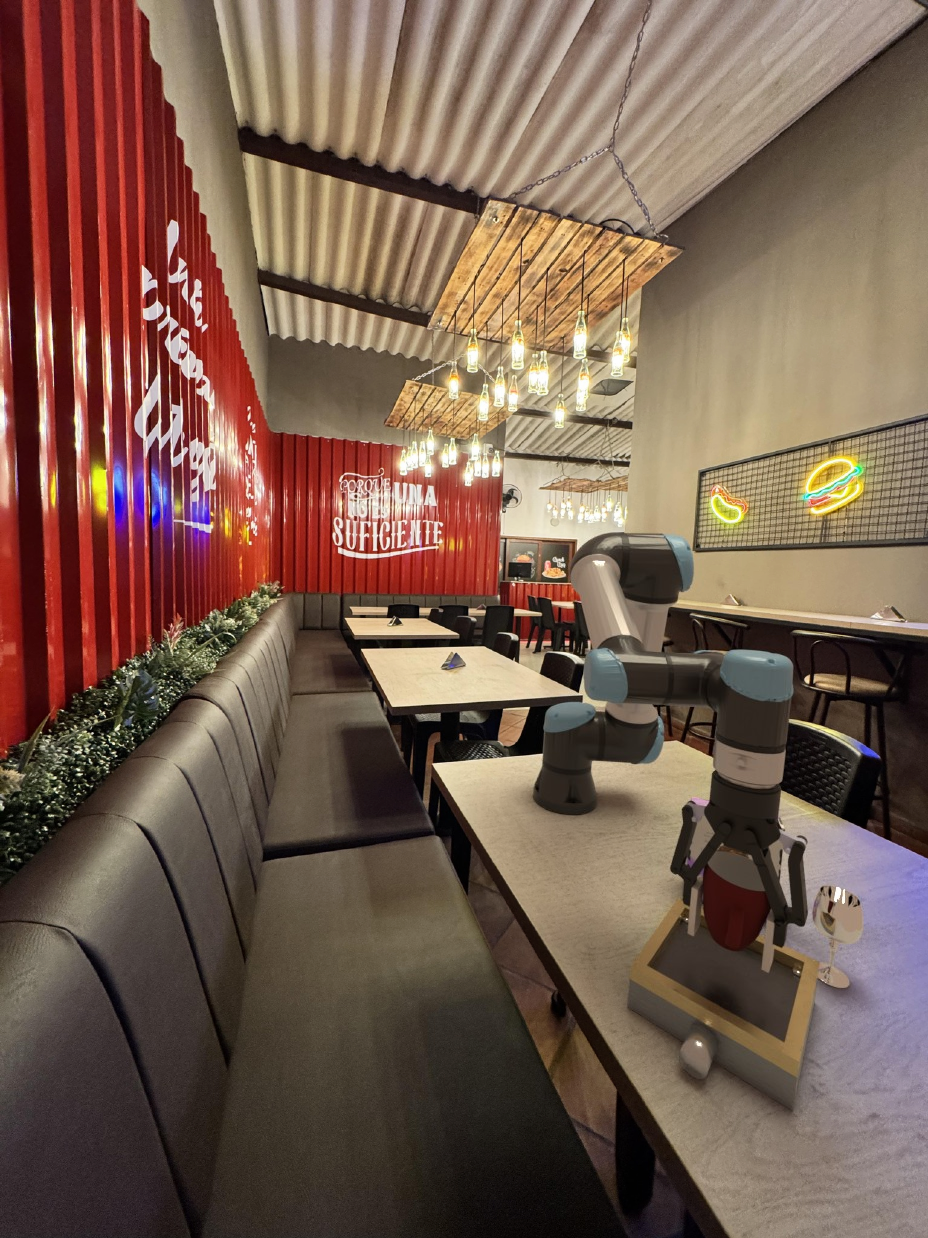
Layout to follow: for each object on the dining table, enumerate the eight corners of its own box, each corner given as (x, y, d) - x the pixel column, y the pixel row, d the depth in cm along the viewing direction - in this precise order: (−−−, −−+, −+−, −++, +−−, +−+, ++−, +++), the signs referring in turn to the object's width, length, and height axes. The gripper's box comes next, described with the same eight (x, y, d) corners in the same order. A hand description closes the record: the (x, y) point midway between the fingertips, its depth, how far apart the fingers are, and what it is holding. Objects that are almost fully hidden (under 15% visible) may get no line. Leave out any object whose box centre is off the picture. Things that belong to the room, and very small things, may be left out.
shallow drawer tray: (614, 1028, 61) (617, 985, 60) (674, 932, 78) (678, 898, 77) (786, 1144, 49) (792, 1092, 49) (814, 1002, 66) (819, 962, 65)
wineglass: (795, 959, 73) (804, 883, 72) (831, 958, 73) (841, 882, 72) (827, 993, 67) (837, 911, 66) (866, 991, 68) (877, 910, 66)
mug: (773, 991, 58) (789, 914, 56) (698, 965, 60) (711, 891, 59) (755, 929, 68) (769, 862, 66) (691, 909, 70) (702, 844, 69)
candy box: (770, 903, 85) (780, 812, 83) (776, 925, 80) (787, 829, 78) (682, 880, 91) (690, 794, 89) (682, 899, 86) (690, 808, 84)
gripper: (651, 760, 65) (638, 921, 68) (848, 817, 52) (824, 1015, 54) (670, 746, 71) (658, 895, 73) (853, 794, 58) (831, 974, 60)
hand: (728, 946), depth 64 cm, fingers closed on mug, 8 cm apart
